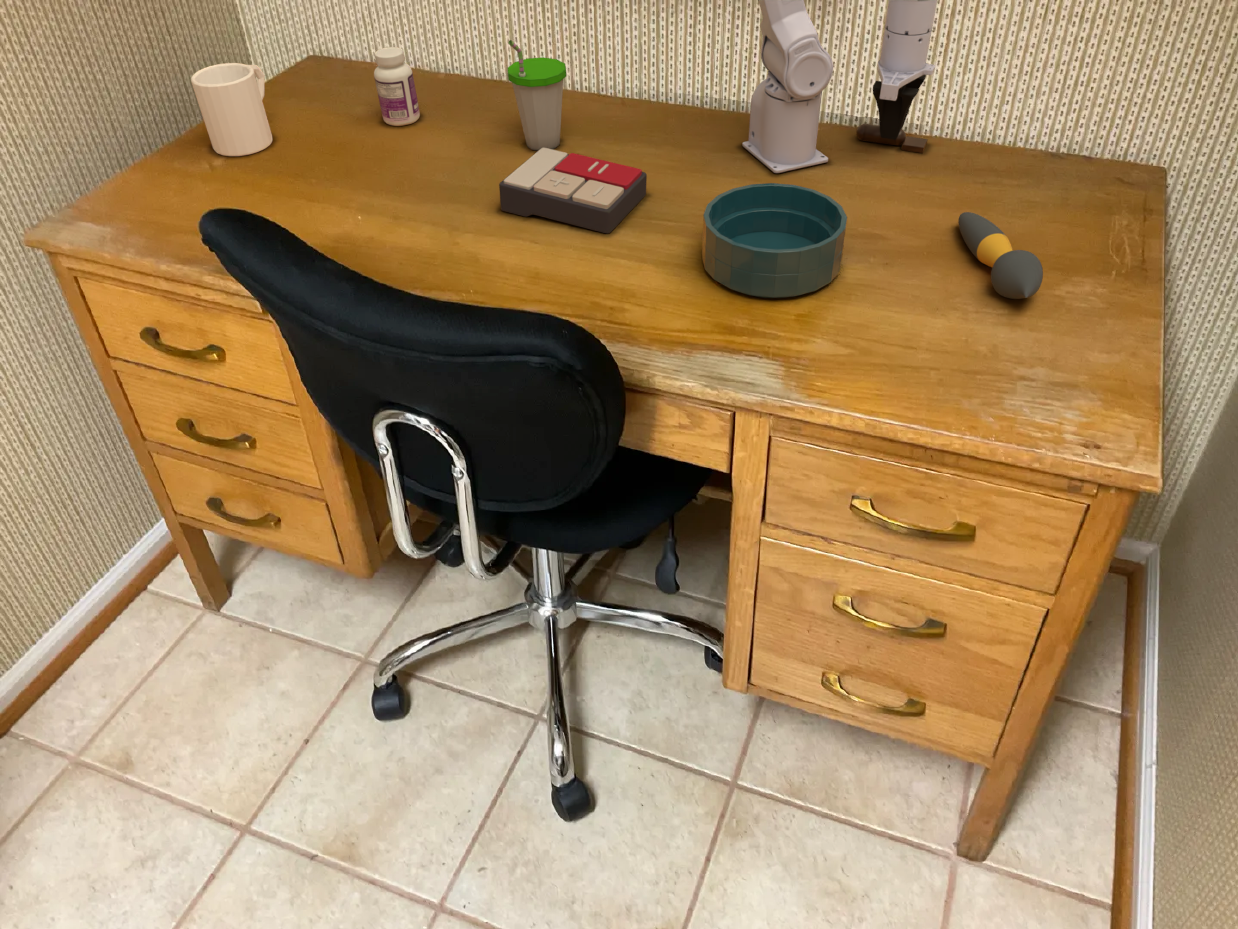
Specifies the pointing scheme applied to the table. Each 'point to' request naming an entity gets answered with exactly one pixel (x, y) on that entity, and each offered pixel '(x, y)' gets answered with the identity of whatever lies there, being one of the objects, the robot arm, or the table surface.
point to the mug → (233, 107)
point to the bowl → (773, 239)
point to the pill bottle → (395, 87)
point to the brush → (873, 135)
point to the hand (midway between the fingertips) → (890, 133)
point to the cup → (538, 98)
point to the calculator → (573, 189)
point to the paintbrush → (1001, 257)
